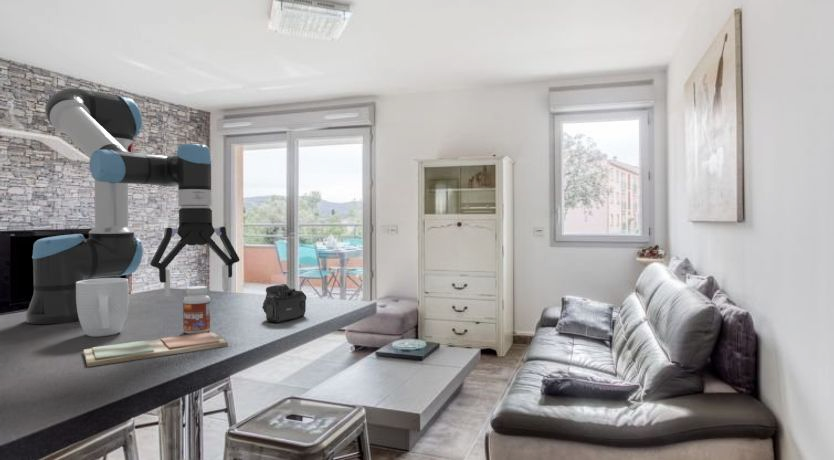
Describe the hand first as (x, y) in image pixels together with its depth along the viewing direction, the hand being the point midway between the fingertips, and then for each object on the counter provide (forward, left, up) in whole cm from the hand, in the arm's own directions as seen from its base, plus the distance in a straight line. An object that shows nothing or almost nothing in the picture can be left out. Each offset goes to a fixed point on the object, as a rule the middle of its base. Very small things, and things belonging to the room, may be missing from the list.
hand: (197, 293), depth 126 cm
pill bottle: (0, 0, -10) cm, 10 cm away
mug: (-10, -19, -10) cm, 24 cm away
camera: (-2, +23, -10) cm, 25 cm away
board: (+13, -11, -10) cm, 19 cm away
